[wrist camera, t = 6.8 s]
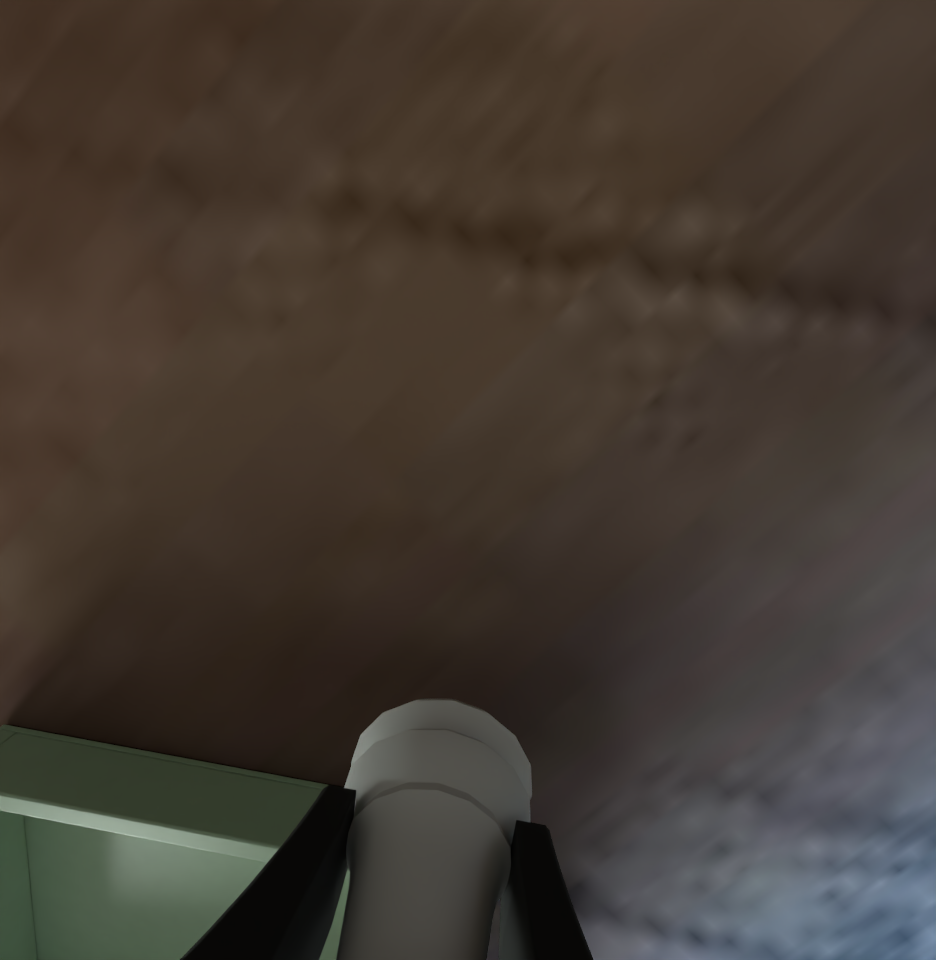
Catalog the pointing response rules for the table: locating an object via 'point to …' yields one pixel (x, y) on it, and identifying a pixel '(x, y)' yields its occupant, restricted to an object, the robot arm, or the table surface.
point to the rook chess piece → (431, 832)
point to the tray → (131, 847)
